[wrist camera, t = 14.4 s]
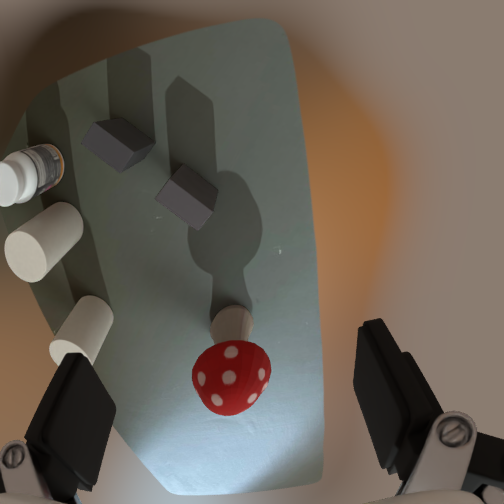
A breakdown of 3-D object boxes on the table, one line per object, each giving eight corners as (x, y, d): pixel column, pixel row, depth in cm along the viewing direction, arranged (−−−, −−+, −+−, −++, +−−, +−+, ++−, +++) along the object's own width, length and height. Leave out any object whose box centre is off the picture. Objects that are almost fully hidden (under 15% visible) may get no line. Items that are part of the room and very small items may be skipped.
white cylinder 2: (71, 313, 42) (44, 356, 33) (85, 287, 41) (56, 331, 32) (103, 335, 44) (82, 381, 35) (120, 311, 43) (97, 359, 33)
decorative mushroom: (222, 280, 41) (216, 364, 27) (278, 309, 43) (294, 394, 30) (187, 332, 44) (172, 417, 31) (239, 356, 47) (241, 439, 33)
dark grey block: (110, 134, 33) (80, 143, 25) (122, 117, 32) (93, 121, 25) (143, 159, 34) (120, 173, 27) (155, 142, 33) (134, 152, 26)
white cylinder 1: (40, 227, 37) (-1, 260, 28) (56, 192, 35) (12, 219, 26) (72, 253, 38) (37, 292, 29) (91, 219, 37) (53, 254, 28)
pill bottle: (36, 190, 34) (-9, 216, 25) (28, 148, 32) (-21, 164, 23) (70, 182, 34) (26, 207, 26) (62, 137, 32) (15, 151, 23)
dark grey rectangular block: (170, 179, 35) (154, 199, 28) (183, 163, 35) (169, 178, 27) (205, 206, 37) (197, 231, 30) (218, 190, 36) (213, 212, 29)
